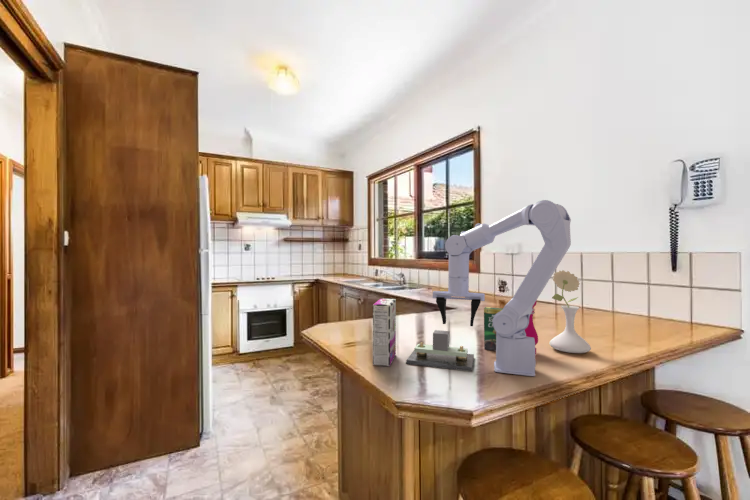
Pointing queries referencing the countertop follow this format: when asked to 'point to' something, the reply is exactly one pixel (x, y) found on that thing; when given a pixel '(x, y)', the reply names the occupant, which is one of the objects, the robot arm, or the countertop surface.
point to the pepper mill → (532, 328)
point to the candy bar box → (384, 332)
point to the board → (451, 350)
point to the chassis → (441, 360)
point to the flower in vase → (568, 317)
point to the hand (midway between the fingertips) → (457, 324)
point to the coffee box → (490, 328)
